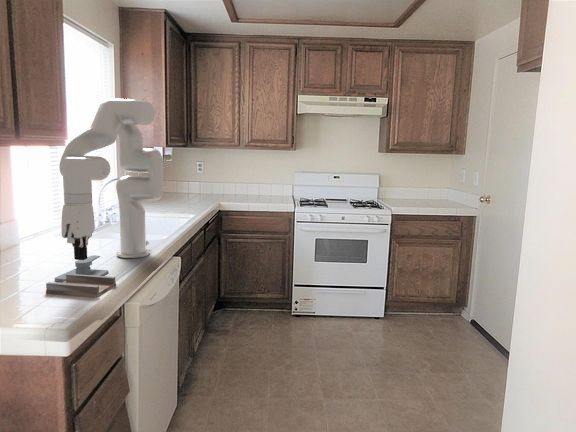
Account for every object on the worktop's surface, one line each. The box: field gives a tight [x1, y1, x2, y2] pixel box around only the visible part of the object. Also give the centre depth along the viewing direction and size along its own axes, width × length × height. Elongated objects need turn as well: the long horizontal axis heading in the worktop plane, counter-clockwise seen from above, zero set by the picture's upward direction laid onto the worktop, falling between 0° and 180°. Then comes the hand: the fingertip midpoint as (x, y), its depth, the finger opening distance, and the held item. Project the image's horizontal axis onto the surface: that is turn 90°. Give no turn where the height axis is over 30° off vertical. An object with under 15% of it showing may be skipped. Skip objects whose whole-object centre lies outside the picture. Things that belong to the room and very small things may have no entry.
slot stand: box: [45, 274, 117, 298], centre depth 132 cm, size 11×16×3 cm
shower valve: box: [54, 255, 109, 283], centre depth 145 cm, size 12×6×15 cm
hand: (80, 259), depth 130 cm, fingers closed
